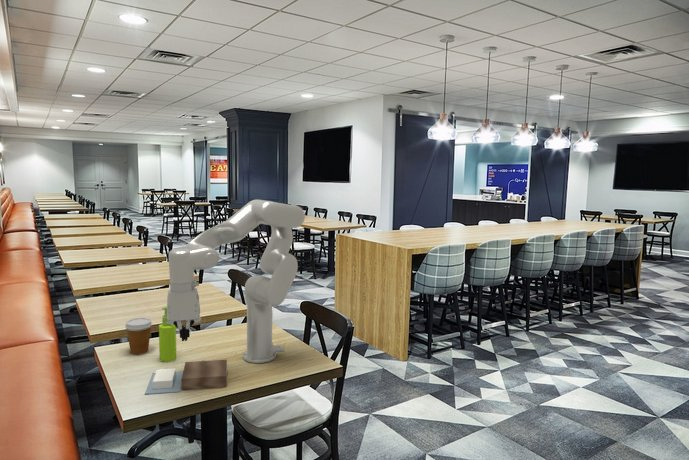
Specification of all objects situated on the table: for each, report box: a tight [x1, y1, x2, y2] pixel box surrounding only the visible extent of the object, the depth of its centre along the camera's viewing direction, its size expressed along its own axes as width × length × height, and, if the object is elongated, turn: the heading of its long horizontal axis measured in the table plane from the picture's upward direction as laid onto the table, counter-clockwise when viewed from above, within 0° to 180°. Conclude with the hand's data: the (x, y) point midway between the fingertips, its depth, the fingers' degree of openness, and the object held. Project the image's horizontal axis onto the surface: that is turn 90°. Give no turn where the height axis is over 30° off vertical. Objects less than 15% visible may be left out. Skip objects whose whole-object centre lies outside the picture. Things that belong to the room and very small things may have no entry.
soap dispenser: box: [158, 306, 177, 363], centre depth 175 cm, size 6×7×20 cm
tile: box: [153, 368, 177, 389], centre depth 158 cm, size 6×9×2 cm, turn 13°
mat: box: [144, 370, 183, 396], centre depth 158 cm, size 10×15×1 cm
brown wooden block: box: [181, 359, 228, 391], centre depth 161 cm, size 14×13×4 cm
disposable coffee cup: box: [124, 317, 153, 356], centre depth 182 cm, size 10×10×12 cm
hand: (184, 339), depth 158 cm, fingers closed
